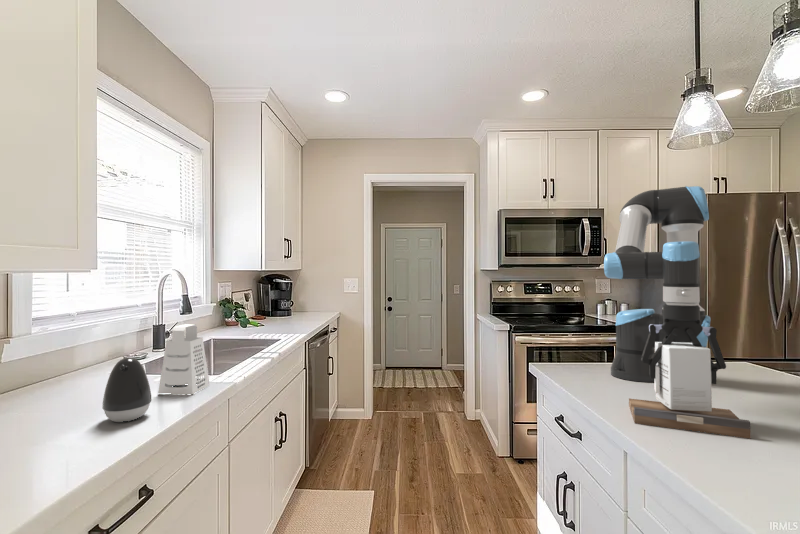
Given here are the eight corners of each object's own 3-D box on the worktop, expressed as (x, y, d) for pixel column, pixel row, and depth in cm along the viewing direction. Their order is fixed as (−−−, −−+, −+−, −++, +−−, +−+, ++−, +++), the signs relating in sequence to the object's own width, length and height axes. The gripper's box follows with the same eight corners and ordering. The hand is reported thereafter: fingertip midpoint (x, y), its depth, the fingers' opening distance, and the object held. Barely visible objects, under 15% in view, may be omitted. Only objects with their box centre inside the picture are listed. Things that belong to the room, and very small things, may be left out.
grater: (209, 385, 132) (210, 323, 132) (192, 395, 121) (192, 328, 121) (177, 385, 132) (177, 323, 132) (157, 395, 121) (158, 327, 122)
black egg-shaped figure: (96, 429, 95) (96, 364, 95) (109, 414, 105) (109, 355, 105) (146, 423, 99) (147, 360, 99) (154, 409, 108) (154, 352, 109)
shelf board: (628, 405, 111) (628, 392, 111) (729, 417, 101) (729, 403, 102) (634, 423, 98) (634, 408, 98) (751, 439, 88) (750, 422, 89)
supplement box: (693, 400, 104) (693, 342, 104) (712, 412, 95) (712, 348, 95) (654, 398, 106) (653, 340, 106) (669, 410, 97) (669, 347, 97)
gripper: (630, 303, 102) (631, 392, 102) (743, 306, 93) (744, 404, 93) (627, 301, 109) (628, 385, 109) (732, 304, 100) (733, 395, 99)
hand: (681, 394), depth 101 cm, fingers closed on supplement box, 10 cm apart
